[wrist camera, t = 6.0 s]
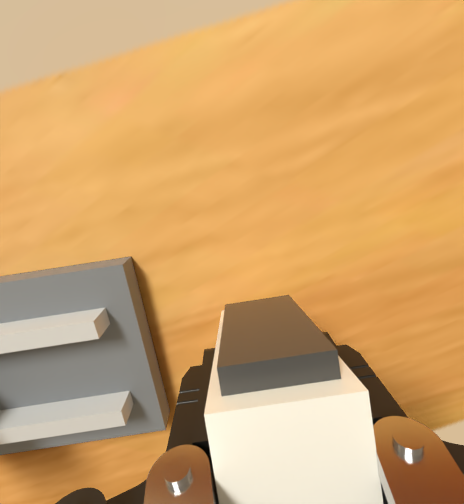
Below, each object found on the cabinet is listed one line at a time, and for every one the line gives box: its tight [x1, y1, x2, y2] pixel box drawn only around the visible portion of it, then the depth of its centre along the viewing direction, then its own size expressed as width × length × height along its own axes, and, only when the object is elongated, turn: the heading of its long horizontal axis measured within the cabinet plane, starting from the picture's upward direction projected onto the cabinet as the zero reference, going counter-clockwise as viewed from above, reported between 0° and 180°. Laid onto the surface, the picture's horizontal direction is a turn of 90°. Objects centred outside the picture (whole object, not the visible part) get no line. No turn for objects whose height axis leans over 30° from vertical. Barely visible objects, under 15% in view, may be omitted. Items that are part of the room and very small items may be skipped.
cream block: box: [204, 295, 383, 504], centre depth 9 cm, size 5×3×7 cm, turn 9°
